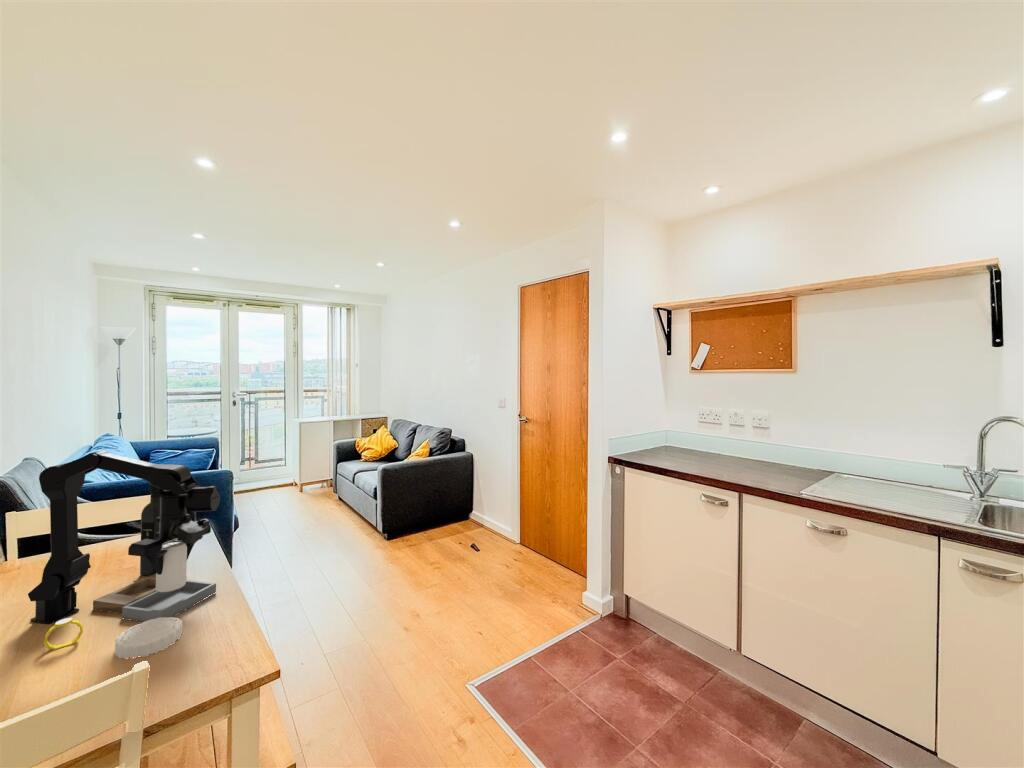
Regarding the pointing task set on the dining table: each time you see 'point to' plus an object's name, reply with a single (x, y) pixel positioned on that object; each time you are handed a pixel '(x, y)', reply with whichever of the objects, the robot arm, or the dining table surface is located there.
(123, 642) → the mooncake
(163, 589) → the can
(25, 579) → the dining table surface
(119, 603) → the holder
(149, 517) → the wine bottle
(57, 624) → the watch
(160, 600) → the tray
